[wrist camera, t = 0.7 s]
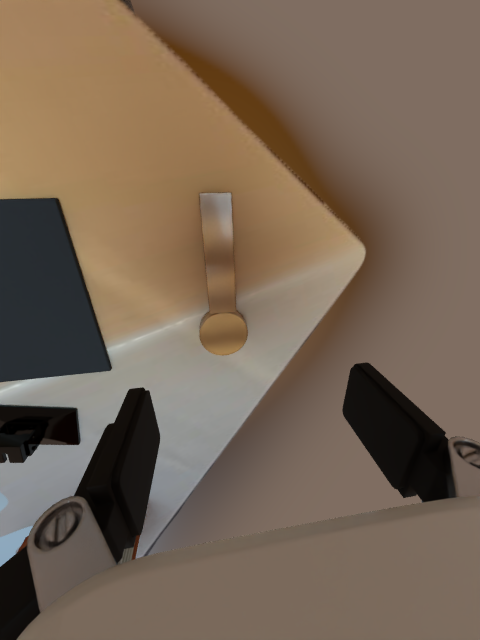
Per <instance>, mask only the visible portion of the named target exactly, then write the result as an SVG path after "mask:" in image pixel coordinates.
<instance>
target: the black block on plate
mask: <svg viewBox="0 0 480 640" xmlns="http://www.w3.org/2000/svg"><path fill="white" fill-rule="evenodd" d="M79 443H80V435H79V425H78V415H77V409H76V408H62V407H36V406H11V405H0V463H5V461H6V460H7V457H6V454H8V458H9V461H10V463H24V461H25V460H26V459H27V457H28V456H31V455H32V454H33V453H34V451H35V450H36V449H37V447H38V446H39V444H41V445H79ZM5 453H6V454H5Z"/></svg>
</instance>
